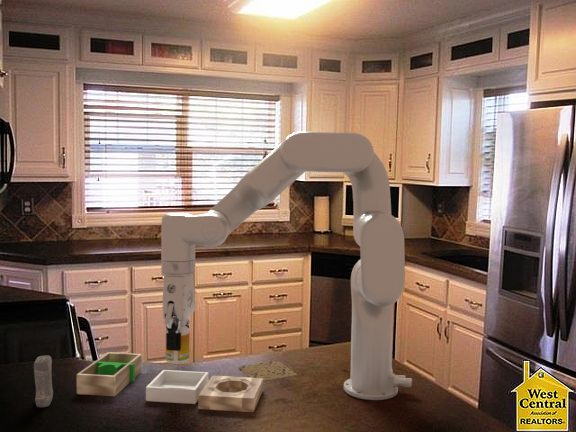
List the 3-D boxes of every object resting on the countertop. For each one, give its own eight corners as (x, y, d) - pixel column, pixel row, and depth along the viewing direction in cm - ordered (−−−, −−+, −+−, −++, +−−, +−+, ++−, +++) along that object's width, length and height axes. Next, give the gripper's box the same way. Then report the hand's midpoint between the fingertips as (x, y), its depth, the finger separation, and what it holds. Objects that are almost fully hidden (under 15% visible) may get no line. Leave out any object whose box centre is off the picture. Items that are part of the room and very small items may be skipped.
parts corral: (141, 371, 142) (141, 354, 141) (114, 396, 126) (114, 376, 125) (108, 369, 143) (107, 352, 142) (76, 393, 127) (76, 374, 126)
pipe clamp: (87, 383, 133) (86, 365, 133) (94, 378, 137) (94, 361, 136) (128, 385, 131) (128, 367, 131) (135, 380, 135) (134, 362, 135)
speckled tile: (254, 384, 135) (255, 380, 135) (236, 369, 146) (236, 365, 145) (298, 377, 140) (298, 373, 140) (277, 362, 151) (278, 359, 151)
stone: (54, 398, 124) (54, 353, 124) (49, 407, 119) (49, 361, 118) (37, 399, 124) (37, 354, 123) (32, 408, 118) (31, 362, 118)
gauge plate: (262, 390, 130) (262, 378, 130) (253, 412, 118) (253, 398, 118) (212, 387, 131) (212, 375, 131) (198, 408, 119) (198, 395, 119)
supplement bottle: (190, 356, 130) (191, 315, 130) (187, 364, 125) (187, 321, 124) (167, 356, 130) (168, 315, 129) (163, 363, 125) (163, 321, 124)
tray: (208, 385, 133) (208, 372, 133) (195, 403, 122) (195, 390, 122) (163, 382, 134) (163, 369, 134) (145, 400, 123) (145, 387, 123)
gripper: (182, 274, 117) (182, 358, 118) (204, 262, 134) (204, 336, 135) (148, 273, 118) (148, 357, 119) (174, 261, 135) (174, 334, 136)
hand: (178, 345), depth 127 cm, fingers closed on supplement bottle, 5 cm apart
